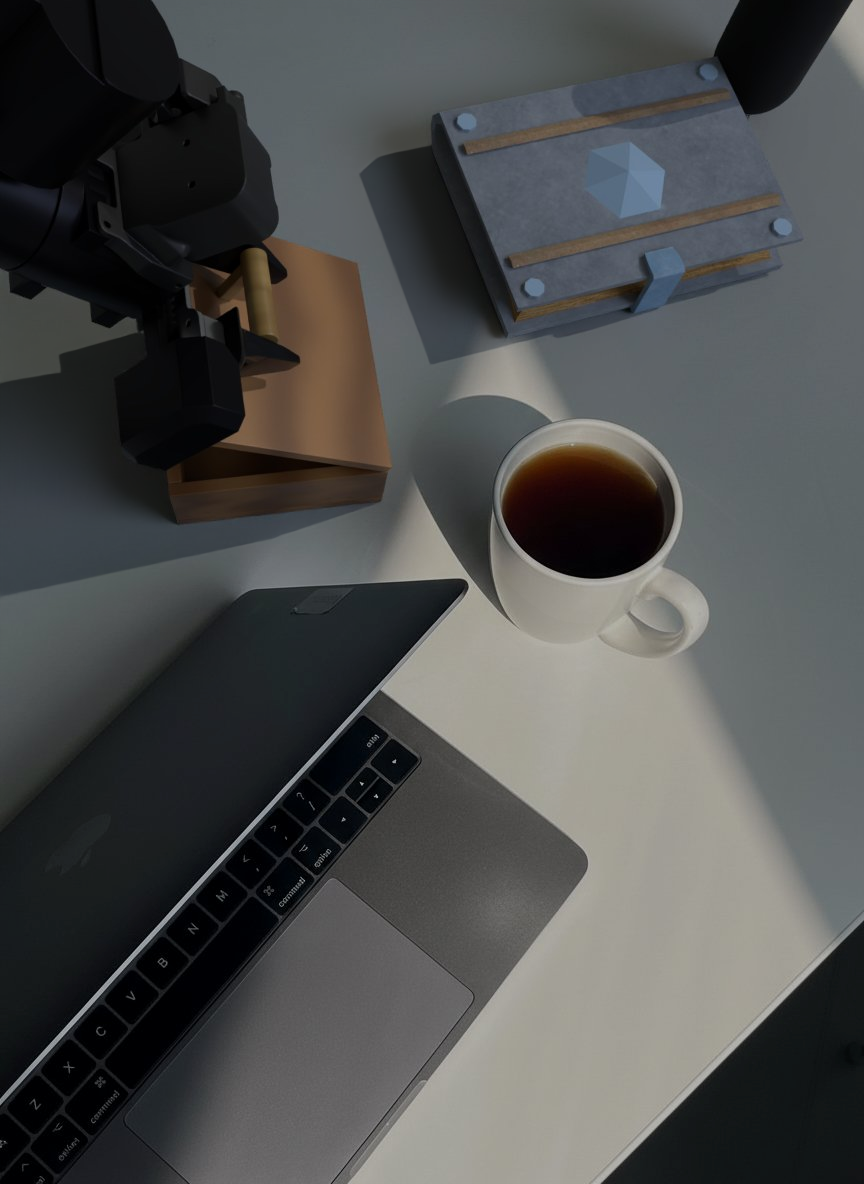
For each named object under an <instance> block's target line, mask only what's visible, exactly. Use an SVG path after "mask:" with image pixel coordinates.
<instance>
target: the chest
mask: <svg viewBox="0 0 864 1184" xmlns="http://www.w3.org/2000/svg"><path fill="white" fill-rule="evenodd" d="M165 472H166V481H167V484H168V485H167V488H168V489H167V490H168V497H169V500H170V503H171V506H172V510H173V513H174V516H175V519H176V522H177V524H178V525H187V524H196V523H197V524H198V523H204V522H214V521H221V520H230V519H231V520H232V519H239V518H241V519H242V518H248V517H257V516H258V517H259V516H265V515H267V516H268V515H273V514H274V515H275V514H283V513H292V512H300V511H309V510H319V509H327V508H328V509H329V508H335V507H344V506H353V505H355V506H356V505H361V504H363V505H364V504H371V503H379V502H381V503H382V501H383V496H384V492H385V489H386V488H385V487H386V483H387V479H388V475H389V470H388V471H386V472H382V471H375V470H369V469H362V468H355V467H348V466H342V465H335V464H328V463H321V462H315V461H308V460H301V459H294V458H288V457H281V456H274V455H267V454H261V453H254V452H247V451H240V450H234V449H227V448H220V447H213V446H211V447H209V448H207V449H205V450H203V451H202V452H200V453H198V454H196V455H194V456H192V457H190V458H189V459H187V460H185V461H183V462H181V463H179V464H177V465H176V466H174V467H172V468H170V469H168V470H166V471H165Z"/></svg>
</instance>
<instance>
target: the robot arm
mask: <svg viewBox="0 0 864 1184" xmlns="http://www.w3.org/2000/svg"><path fill="white" fill-rule="evenodd" d="M271 169H272V160H271V156H270V153H269V152H268V150H267V148H265V146H264V145H263V143H262V142H261V140H259V138H258V137H257V136H256V134H255V133H254V131H253V130H252V129H251V127H250V126H249V124H248V118H247V111H246V104H245V96H244V95H243V93H242V92H240V91H238V90H236V89H235V90H233V89H231V90H229V89H228V88H227V86H225V85H223V84H222V83H221V81H220V80H219V79H218V78H217V76H216V75H214V74H213V73H210V72H209V71H207V70H205V69H203V68H201V67H199V66H198V65H195V64H193V63H191V62H189V61H187V60H186V59H184V58H182V57H180V55H179V52H178V49H177V47H176V42H175V40H174V37H173V35H172V34H171V31H170V28H169V27H168V25H167V22H166V21H165V19H164V18H163V16H162V14H161V12H160V11H159V9H158V8H157V6H156V4H155V3H154V1H153V0H0V270H2V271H5V272H8V284H9V285H8V287H9V293H11V294H13V295H16V296H19V297H22V298H24V299H26V300H27V299H28V300H30V301H32V300H33V299H34V298H35V297H36V296H39V294H41V293H42V292H44V291H45V290H46V289H47V288H49V289H52V290H55V291H57V292H60V293H63V294H64V295H65V294H66V295H68V296H71V297H72V298H76V299H78V300H81V301H84V302H87V303H89V310H90V322H91V323H93V324H96V325H97V326H98V325H99V326H102V327H104V328H107V329H111V328H113V327H114V326H116V325H117V324H119V323H120V322H121V321H123V320H125V319H126V318H130V319H132V320H135V324H136V330H137V332H138V334H142V335H143V340H144V348H145V356H144V358H142V359H141V360H139V361H138V362H136V363H135V364H133V365H132V366H130V367H128V368H127V369H125V370H124V371H122V372H120V373H119V374H117V375H116V376H114V377H113V381H114V382H113V384H114V395H115V404H116V405H115V406H116V415H117V425H118V426H117V427H118V434H119V445H120V448H121V451H122V453H123V455H124V457H125V458H127V459H129V460H130V461H132V462H133V463H135V464H136V465H139V466H144V467H147V468H152V469H156V470H160V471H164V472H166V470H168V469H170V468H172V467H174V466H176V465H177V464H179V463H181V462H183V461H185V460H187V459H189V458H190V457H192V456H194V455H196V454H198V453H200V452H202V451H203V450H205V449H207V448H209V447H211V446H213V445H215V444H216V443H218V442H220V441H222V440H224V439H226V438H228V437H229V436H231V435H233V434H235V433H237V432H239V429H240V427H241V425H242V423H243V420H244V418H245V416H246V415H245V407H244V400H243V392H242V384H241V377H248V376H255V375H262V374H268V373H275V372H282V371H287V370H290V369H292V368H294V367H295V366H297V365H299V364H300V357H299V356H298V355H297V354H295V353H294V352H292V351H291V350H289V349H288V348H286V347H284V346H282V345H280V344H277V343H275V342H273V341H271V340H268V339H266V338H264V337H262V336H259V335H257V334H255V333H252V332H250V331H248V330H246V329H243V328H242V327H241V323H240V315H239V309H238V307H236V306H235V307H234V308H232V309H231V310H229V311H227V312H226V313H224V314H223V315H221V316H220V317H218V318H216V319H213V318H210V317H208V316H206V315H203V314H202V313H201V312H200V311H198V310H196V309H194V308H192V305H191V296H190V288H189V284H190V283H191V282H193V281H194V277H193V268H192V263H195V264H198V265H201V266H205V267H208V268H211V269H215V270H218V271H221V272H225V273H228V274H232V272H233V271H234V270H235V269H236V268H237V267H238V266H239V265H240V254H241V252H242V251H244V250H246V249H249V248H259V249H262V250H264V251H265V252H266V254H267V260H268V267H269V274H270V281H271V284H278V283H279V282H281V281H282V280H284V279H286V278H287V276H288V275H287V269H286V268H285V267H284V266H283V265H282V264H281V262H280V261H279V260H278V259H277V258H276V257H275V256H274V254H273V253H272V252H271V251H270V250H269V249H268V248H267V247H266V245H265V244H264V243H263V242H262V241H264V240H266V239H267V238H269V237H270V236H272V235H273V234H274V233H275V231H276V230H277V228H278V225H279V222H280V221H279V220H280V216H279V215H280V214H279V208H278V204H277V201H276V198H275V191H274V185H273V184H274V183H273V176H272V170H271Z"/></svg>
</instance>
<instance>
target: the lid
mask: <svg viewBox="0 0 864 1184" xmlns="http://www.w3.org/2000/svg"><path fill="white" fill-rule="evenodd" d="M262 242H263V243H264V244H265V245H266V247H267V248H268V249H269V250H270V251H271V252H272V253H273V254H274V256H275V257H276V258H277V259H278V260H279V261H280V262H281V264H282V265H283V266H284V267H285V268H286V269H287V275H288V276H287V278H286V279H284V280H282V281H281V282H279V283H278V284H271V281H270V274H269V267H268V260H267V254H266V252H265V251H264V250H262V249H259V248H249V249H246V250H244V251H242V252H241V254H240V265H239V266H238V267H237V268H236V269H235V270H234V271H233V272H232V274H228V273H225V272H221V271H218V270H215V269H211V268H208V267H205V266H201V265H198V264H195V263H192V268H193V277H194V281H193V282H191V283H190V284H189V288H190V296H191V305H192V308H194V309H196V310H198V311H200V312H201V313H202V314H203V315H206V316H208V317H210V318H213V319H216V318H218V317H220V316H221V315H223V314H224V313H226V312H227V311H229V310H231V309H232V308H234V307H235V306H236V307H238V309H239V315H240V323H241V327H242V328H243V329H246V330H248V331H250V332H252V333H255V334H257V335H259V336H262V337H264V338H266V339H268V340H271V341H273V342H275V343H277V344H280V345H282V346H284V347H286V348H288V349H289V350H291V351H292V352H294V353H295V354H297V355H298V356H299V357H300V364H299V365H297V366H295V367H294V368H292V369H290V370H287V371H282V372H275V373H268V374H262V375H255V376H248V377H241V384H242V392H243V400H244V407H245V415H246V416H245V418H244V420H243V423H242V425H241V427H240V429H239V432H237V433H235V434H233V435H231V436H229V437H228V438H226V439H224V440H222V441H220V442H218V443H216V444H215V445H213V447H220V448H227V449H234V450H240V451H247V452H254V453H261V454H267V455H274V456H281V457H288V458H294V459H301V460H308V461H315V462H321V463H328V464H335V465H342V466H348V467H355V468H362V469H369V470H375V471H382V472H386V471H388V472H389V470H391V469H392V468H393V463H392V458H391V457H392V456H391V451H390V445H389V440H388V434H387V428H386V423H385V417H384V409H383V405H382V398H381V393H380V388H379V387H380V386H379V382H378V381H379V380H378V376H377V371H376V365H375V364H376V363H375V357H374V351H373V347H372V341H371V333H370V328H369V323H368V316H367V311H366V305H365V299H364V292H363V288H362V281H361V275H360V269H359V264H358V262H356V261H353V260H350V259H346V258H343V257H339V256H336V255H333V254H330V253H326V252H323V251H320V250H316V249H313V248H312V247H311V248H310V247H307V246H305V245H301V244H299V243H298V244H297V243H295V242H291V241H288V240H285V239H282V238H278V237H274V236H272V235H271V236H270V237H269V238H267V239H266V240H264V241H262Z"/></svg>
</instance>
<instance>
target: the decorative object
mask: <svg viewBox="0 0 864 1184" xmlns="http://www.w3.org/2000/svg"><path fill="white" fill-rule="evenodd" d="M853 1H854V0H738V2H737V4H736V6H735V8H734V10H733V12H732V14H731V16H730V18H729V20H728V23H727V24H726V26H725V28H724V30H723V32H722V34H721V36H720V38H719V39H718V42H717V44H716V46H715V49H714V52H713V56H712V57H716V56H717V57H718V59H719V61H720V63H721V66H722V68H723V70H724V72H725V74H726V76H727V78H728V80H729V82H730V84H731V86H732V88H733V90H734V93H735V95H736V97H737V99H738V101H739V103H740V105H741V107H742V109H743V111H744V113H745V115H746V116H754V115H755V116H756V115H762V114H765V113H768V112H770V111H772V110H774V109H776V108H778V107H780V106H781V105H782V104H784V103H785V102H786V101H787V100H789V99H790V98H791V97H792V95H793V94H794V93H796V91H797V89H798V88H799V86H800V85H801V83H802V82H803V80H804V79H805V77H806V76H807V74H808V72H809V71H810V69H811V68H812V66H813V65H814V63H815V61H816V59H817V58H818V57H819V55H820V53H821V52H822V51H823V49H824V48H825V45H826V44H827V42H828V41H829V39H830V37H831V36H832V35H833V32H834V31H835V30H836V28H837V26H838V25H839V23H840V22H841V20H842V18H843V17H844V15H845V14H846V13H847V10H848V9H849V8H850V6H851V4H852V3H853Z"/></svg>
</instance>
